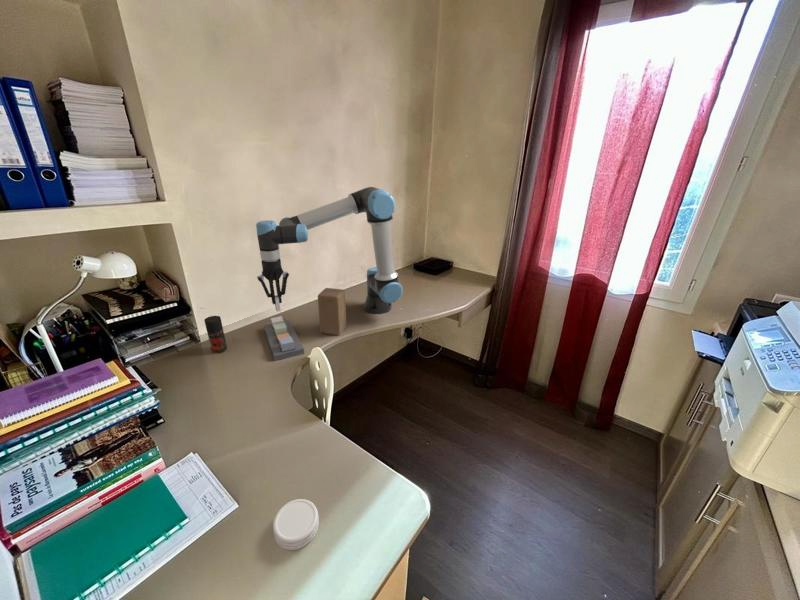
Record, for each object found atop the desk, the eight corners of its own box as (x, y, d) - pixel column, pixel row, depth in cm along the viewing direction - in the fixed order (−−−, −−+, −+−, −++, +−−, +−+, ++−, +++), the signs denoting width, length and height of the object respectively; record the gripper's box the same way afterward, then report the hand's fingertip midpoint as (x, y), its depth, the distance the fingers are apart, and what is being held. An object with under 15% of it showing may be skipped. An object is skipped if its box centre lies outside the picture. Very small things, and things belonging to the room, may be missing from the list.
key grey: (282, 322, 163) (281, 316, 161) (284, 327, 159) (283, 320, 158) (271, 324, 161) (270, 318, 159) (273, 329, 157) (272, 322, 155)
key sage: (285, 329, 157) (284, 322, 156) (287, 333, 153) (286, 327, 152) (274, 331, 155) (273, 324, 154) (276, 336, 151) (275, 329, 150)
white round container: (264, 541, 76) (262, 531, 74) (292, 501, 84) (291, 492, 83) (302, 559, 73) (300, 549, 71) (327, 516, 81) (326, 506, 80)
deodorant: (208, 352, 143) (200, 320, 137) (219, 345, 148) (212, 314, 142) (219, 355, 141) (212, 323, 135) (230, 347, 146) (223, 317, 140)
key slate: (291, 343, 146) (291, 336, 145) (294, 348, 142) (293, 341, 141) (280, 346, 144) (279, 338, 143) (282, 351, 140) (281, 344, 139)
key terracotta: (288, 339, 153) (288, 332, 151) (291, 344, 149) (290, 337, 147) (277, 341, 150) (276, 335, 149) (279, 347, 146) (278, 340, 145)
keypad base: (289, 324, 167) (289, 320, 166) (304, 353, 144) (303, 348, 143) (264, 329, 161) (263, 325, 160) (274, 360, 138) (274, 355, 137)
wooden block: (339, 336, 157) (337, 297, 149) (319, 333, 159) (316, 295, 151) (347, 326, 166) (345, 288, 158) (328, 323, 168) (325, 286, 160)
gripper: (284, 254, 146) (290, 303, 155) (252, 258, 139) (261, 309, 149) (289, 259, 140) (295, 310, 149) (255, 263, 134) (264, 316, 143)
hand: (278, 309), depth 149 cm, fingers closed
